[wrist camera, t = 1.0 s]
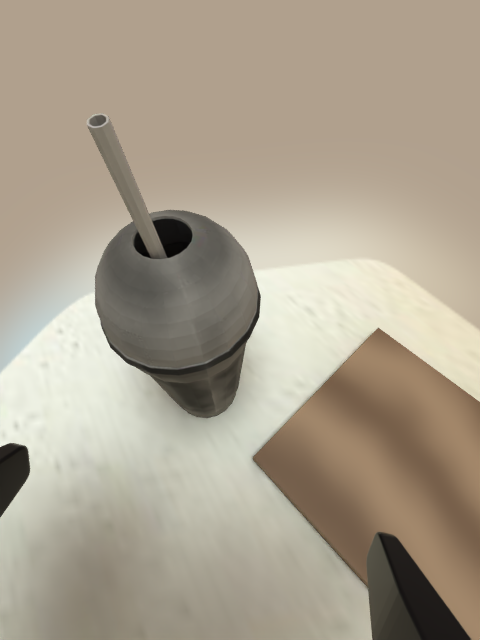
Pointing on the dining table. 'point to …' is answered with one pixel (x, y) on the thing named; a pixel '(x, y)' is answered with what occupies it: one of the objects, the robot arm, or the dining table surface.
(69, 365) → the dining table surface
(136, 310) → the beverage cup
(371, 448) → the walnut board
